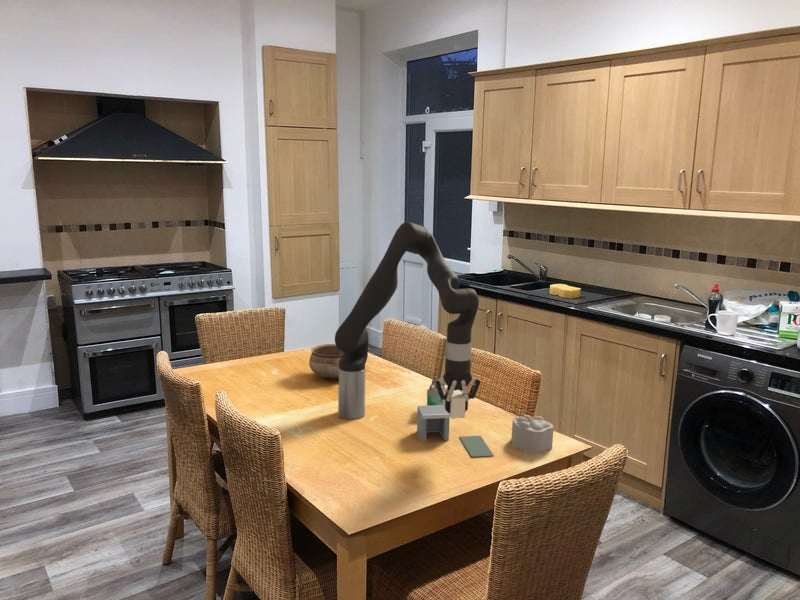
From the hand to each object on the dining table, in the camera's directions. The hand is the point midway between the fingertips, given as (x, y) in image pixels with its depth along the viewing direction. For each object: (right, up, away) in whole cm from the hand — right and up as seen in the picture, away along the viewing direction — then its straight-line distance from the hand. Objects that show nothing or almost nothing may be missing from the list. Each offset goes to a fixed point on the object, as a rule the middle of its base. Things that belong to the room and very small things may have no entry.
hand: (456, 411), depth 189 cm
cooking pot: (-45, +1, +77) cm, 89 cm away
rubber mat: (+7, -13, +12) cm, 19 cm away
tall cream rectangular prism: (-1, 0, +3) cm, 3 cm away
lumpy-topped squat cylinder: (+25, -13, +15) cm, 32 cm away
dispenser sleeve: (-6, -11, +20) cm, 24 cm away
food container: (-3, -7, +41) cm, 42 cm away
